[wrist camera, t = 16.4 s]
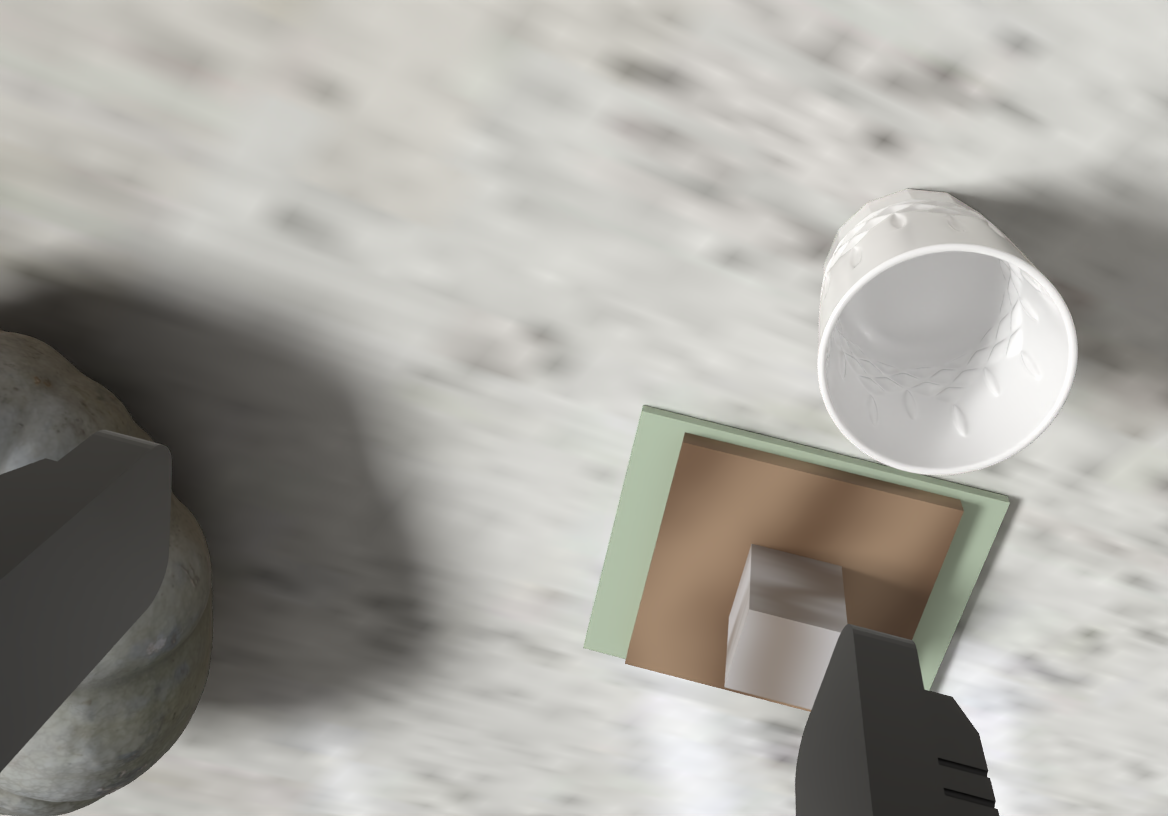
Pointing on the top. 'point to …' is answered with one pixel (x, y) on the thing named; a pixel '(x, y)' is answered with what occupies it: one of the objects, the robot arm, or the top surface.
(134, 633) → the gourd
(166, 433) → the top surface
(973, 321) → the white cup
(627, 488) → the mat
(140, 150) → the top surface
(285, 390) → the top surface
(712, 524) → the lid
